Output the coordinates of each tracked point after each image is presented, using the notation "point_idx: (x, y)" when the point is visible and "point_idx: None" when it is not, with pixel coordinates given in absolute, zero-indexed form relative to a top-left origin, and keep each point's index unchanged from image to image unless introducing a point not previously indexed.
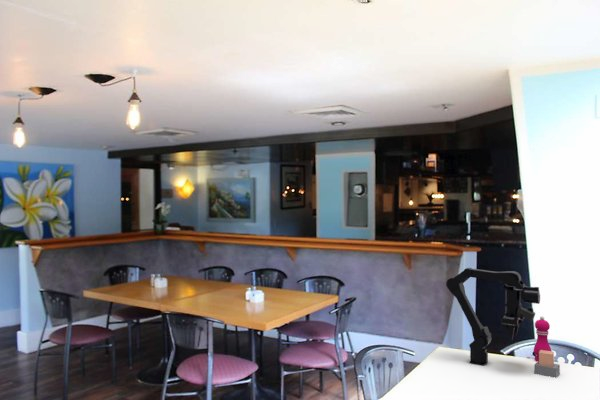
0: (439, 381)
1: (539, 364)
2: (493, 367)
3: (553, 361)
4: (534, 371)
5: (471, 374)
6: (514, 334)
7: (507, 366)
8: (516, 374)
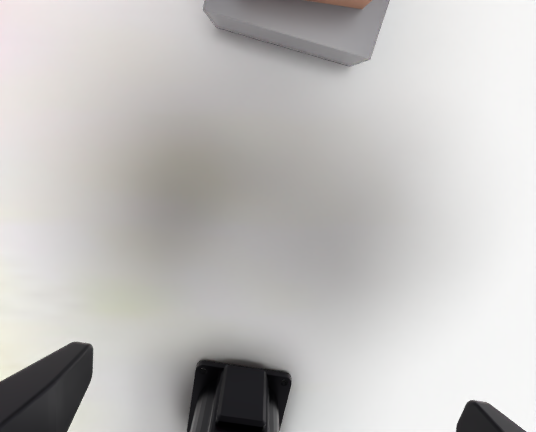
0: None
1: (362, 5)
2: (305, 325)
3: None
4: (355, 64)
5: None
6: (77, 385)
7: (237, 249)
8: (418, 194)
